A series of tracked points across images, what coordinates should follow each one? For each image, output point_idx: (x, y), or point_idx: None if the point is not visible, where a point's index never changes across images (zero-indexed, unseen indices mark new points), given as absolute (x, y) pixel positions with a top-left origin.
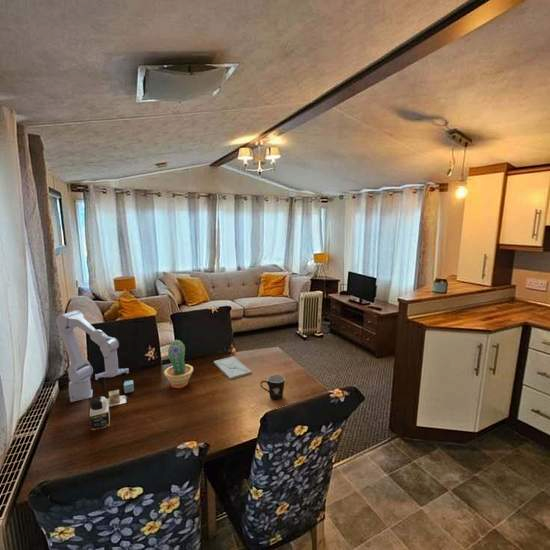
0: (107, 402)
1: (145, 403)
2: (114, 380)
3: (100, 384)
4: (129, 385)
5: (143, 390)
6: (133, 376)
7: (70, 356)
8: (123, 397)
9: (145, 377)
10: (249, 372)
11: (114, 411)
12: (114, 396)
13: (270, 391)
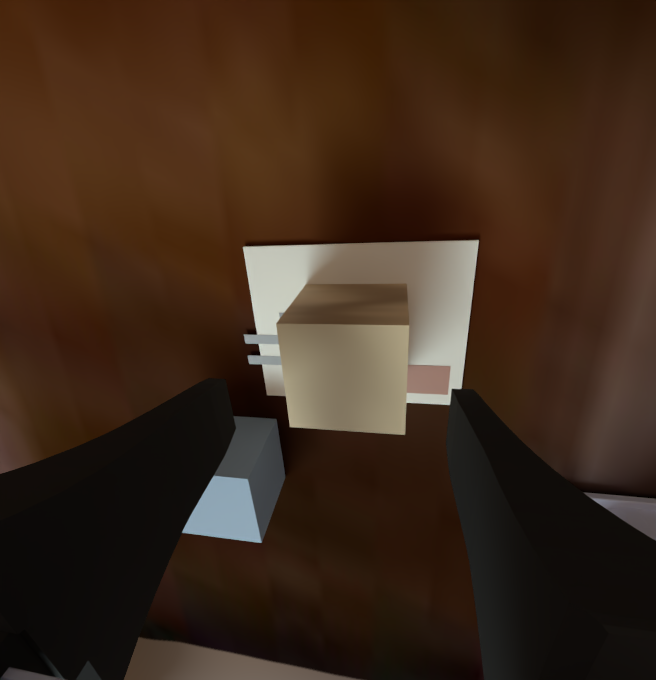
0: (425, 338)
1: (49, 140)
2: (358, 610)
3: (632, 529)
4: None
5: (132, 395)
6: (238, 592)
7: None
8: (279, 358)
9: None
10: None
11: (360, 97)
12: (341, 315)
13: None
